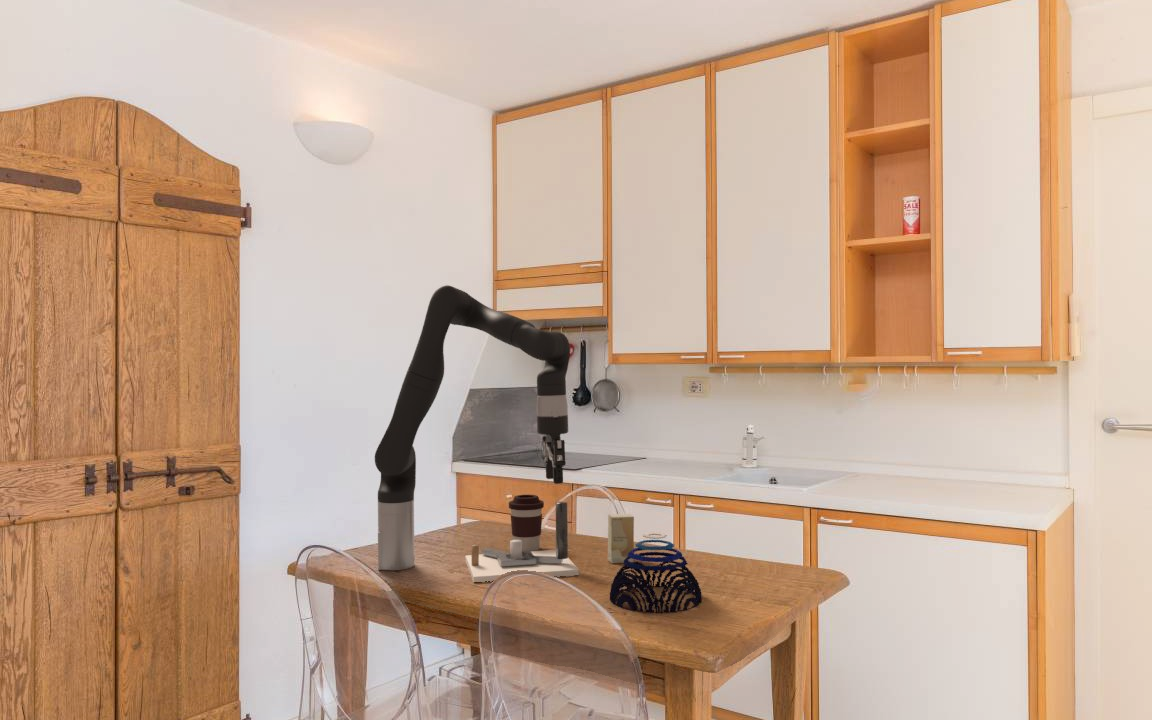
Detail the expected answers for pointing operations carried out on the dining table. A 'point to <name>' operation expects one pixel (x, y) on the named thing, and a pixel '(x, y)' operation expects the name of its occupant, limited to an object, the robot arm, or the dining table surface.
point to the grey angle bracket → (527, 555)
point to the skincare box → (620, 537)
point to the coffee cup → (526, 520)
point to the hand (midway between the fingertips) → (554, 481)
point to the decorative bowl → (623, 580)
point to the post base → (490, 568)
